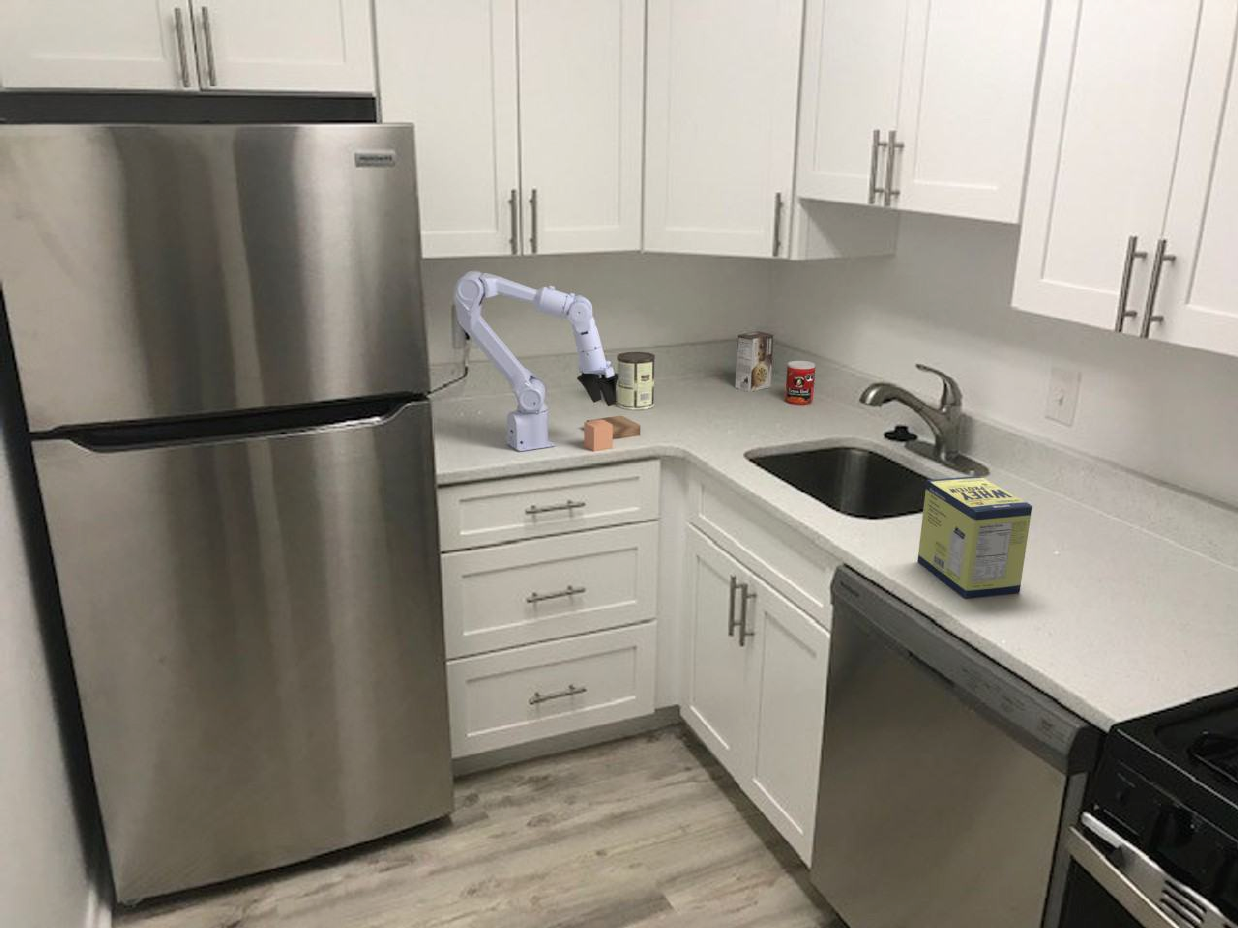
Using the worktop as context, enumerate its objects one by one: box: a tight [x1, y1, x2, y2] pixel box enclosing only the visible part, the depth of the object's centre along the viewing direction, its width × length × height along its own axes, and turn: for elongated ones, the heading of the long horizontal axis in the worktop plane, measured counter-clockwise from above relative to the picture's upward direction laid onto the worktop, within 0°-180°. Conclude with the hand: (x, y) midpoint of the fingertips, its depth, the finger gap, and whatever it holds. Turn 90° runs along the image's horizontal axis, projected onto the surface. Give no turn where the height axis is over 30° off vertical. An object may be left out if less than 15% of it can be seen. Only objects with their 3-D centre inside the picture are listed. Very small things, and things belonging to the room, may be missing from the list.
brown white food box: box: [735, 330, 774, 393], centre depth 286 cm, size 9×6×16 cm
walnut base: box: [585, 415, 641, 440], centre depth 243 cm, size 10×10×3 cm
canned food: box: [784, 360, 816, 406], centre depth 272 cm, size 8×8×11 cm
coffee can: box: [616, 351, 656, 411], centre depth 266 cm, size 10×10×14 cm
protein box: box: [916, 475, 1033, 599], centre depth 163 cm, size 10×16×16 cm
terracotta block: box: [583, 420, 614, 453], centre depth 231 cm, size 5×5×6 cm
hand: (604, 402), depth 230 cm, fingers open, 7 cm apart
